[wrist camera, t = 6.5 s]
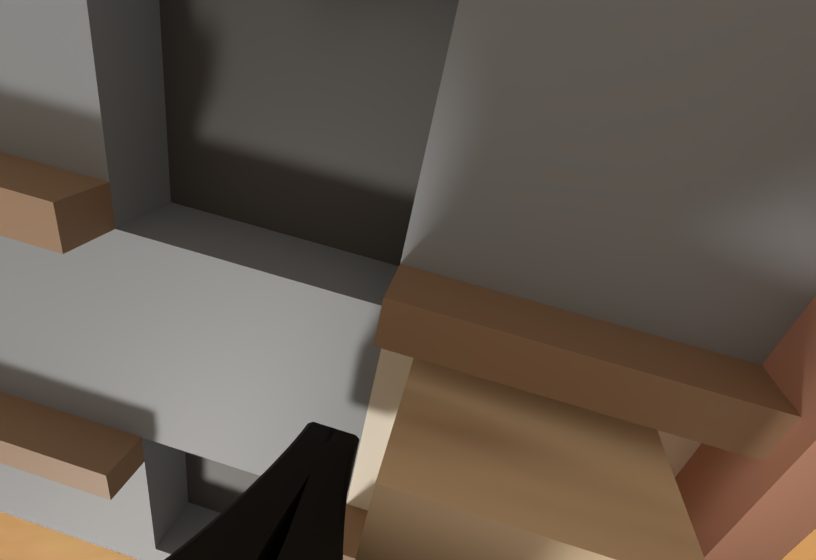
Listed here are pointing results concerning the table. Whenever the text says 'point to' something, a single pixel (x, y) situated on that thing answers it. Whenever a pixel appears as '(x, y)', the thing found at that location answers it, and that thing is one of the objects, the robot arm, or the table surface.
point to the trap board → (400, 243)
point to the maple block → (519, 480)
